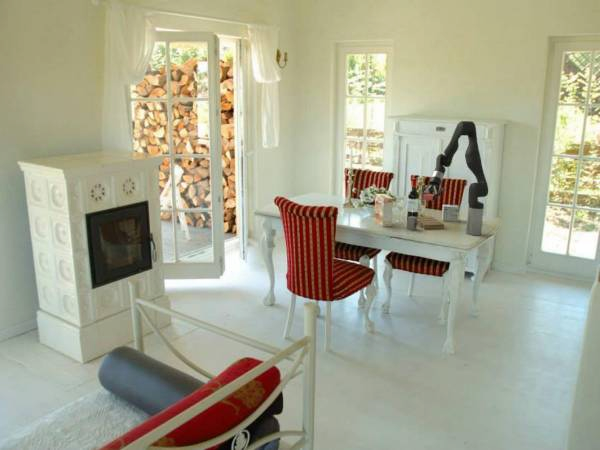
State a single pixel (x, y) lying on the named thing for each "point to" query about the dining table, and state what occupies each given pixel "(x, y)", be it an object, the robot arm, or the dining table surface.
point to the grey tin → (411, 223)
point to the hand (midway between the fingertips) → (428, 198)
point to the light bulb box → (450, 213)
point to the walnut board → (429, 223)
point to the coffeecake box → (383, 210)
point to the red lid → (428, 196)
